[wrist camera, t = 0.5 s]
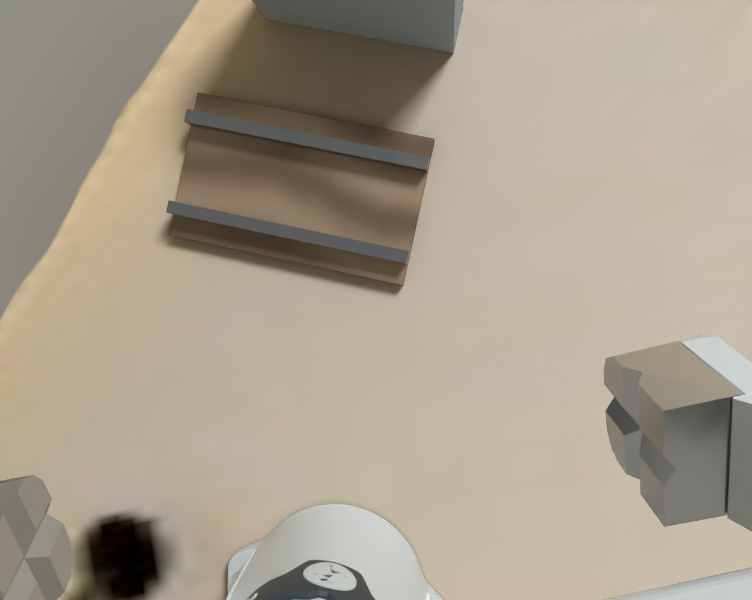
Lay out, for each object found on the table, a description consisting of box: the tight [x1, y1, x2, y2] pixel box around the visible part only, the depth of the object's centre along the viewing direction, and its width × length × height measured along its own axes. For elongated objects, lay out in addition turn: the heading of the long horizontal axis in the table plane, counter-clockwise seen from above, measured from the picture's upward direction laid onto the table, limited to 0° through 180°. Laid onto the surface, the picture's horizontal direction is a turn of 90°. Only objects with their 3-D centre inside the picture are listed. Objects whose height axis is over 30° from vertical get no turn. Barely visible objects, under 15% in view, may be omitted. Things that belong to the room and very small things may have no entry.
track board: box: [166, 93, 434, 285], centre depth 57 cm, size 12×20×2 cm, turn 78°
